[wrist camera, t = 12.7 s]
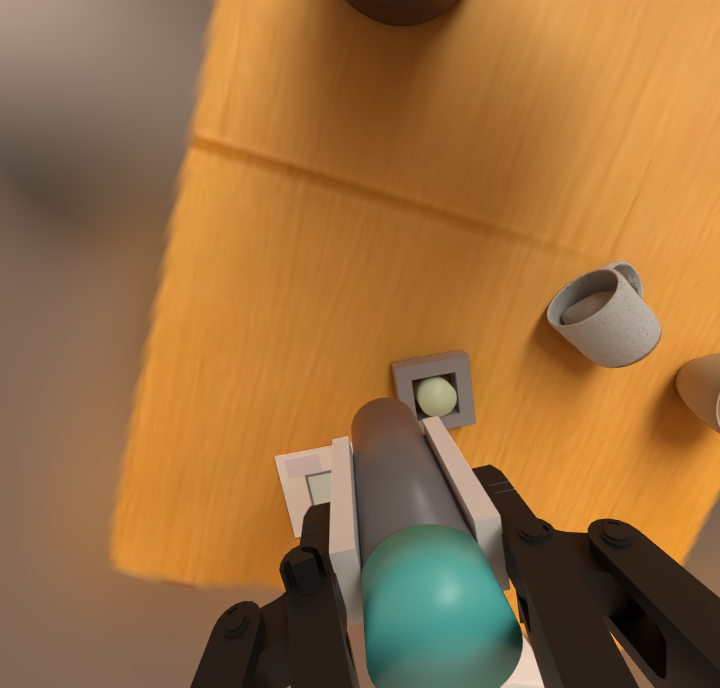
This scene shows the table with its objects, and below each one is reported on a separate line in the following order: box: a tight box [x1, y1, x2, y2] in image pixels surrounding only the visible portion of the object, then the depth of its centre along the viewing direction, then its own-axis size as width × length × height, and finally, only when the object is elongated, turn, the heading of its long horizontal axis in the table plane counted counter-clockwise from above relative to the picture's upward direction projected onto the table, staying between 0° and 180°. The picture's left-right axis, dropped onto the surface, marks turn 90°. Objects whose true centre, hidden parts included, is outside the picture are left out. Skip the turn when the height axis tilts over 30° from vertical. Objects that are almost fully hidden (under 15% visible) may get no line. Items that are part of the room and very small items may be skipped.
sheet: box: [275, 441, 353, 538], centre depth 43 cm, size 11×14×1 cm
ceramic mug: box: [547, 261, 662, 368], centre depth 36 cm, size 11×8×8 cm
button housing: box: [391, 350, 476, 434], centre depth 40 cm, size 8×8×2 cm
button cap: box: [413, 375, 457, 417], centre depth 39 cm, size 4×4×3 cm
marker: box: [351, 398, 523, 688], centre depth 14 cm, size 4×4×12 cm
